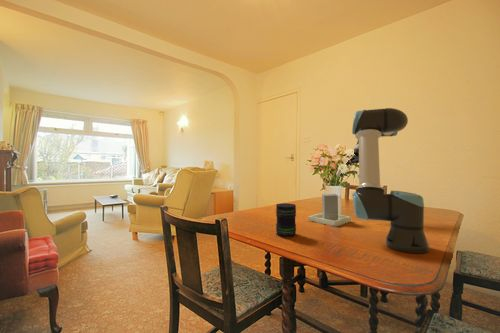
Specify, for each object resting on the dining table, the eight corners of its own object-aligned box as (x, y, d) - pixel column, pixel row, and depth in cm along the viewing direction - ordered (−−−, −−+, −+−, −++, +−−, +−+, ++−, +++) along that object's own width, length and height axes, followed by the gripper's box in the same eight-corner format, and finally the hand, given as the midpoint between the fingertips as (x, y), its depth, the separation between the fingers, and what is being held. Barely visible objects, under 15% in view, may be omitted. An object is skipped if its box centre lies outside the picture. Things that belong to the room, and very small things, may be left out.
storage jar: (282, 230, 126) (282, 202, 126) (299, 234, 120) (299, 204, 120) (272, 235, 118) (272, 205, 118) (289, 239, 112) (289, 207, 112)
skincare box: (335, 218, 149) (335, 193, 149) (338, 221, 142) (338, 194, 142) (321, 218, 150) (321, 193, 150) (324, 221, 143) (324, 194, 143)
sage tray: (334, 226, 134) (334, 221, 134) (308, 221, 147) (308, 216, 147) (350, 221, 145) (350, 216, 145) (324, 216, 159) (324, 212, 159)
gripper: (380, 156, 150) (370, 181, 141) (343, 157, 169) (331, 179, 160) (377, 147, 147) (366, 172, 137) (339, 149, 166) (327, 171, 156)
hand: (347, 176), depth 148 cm, fingers open, 13 cm apart
